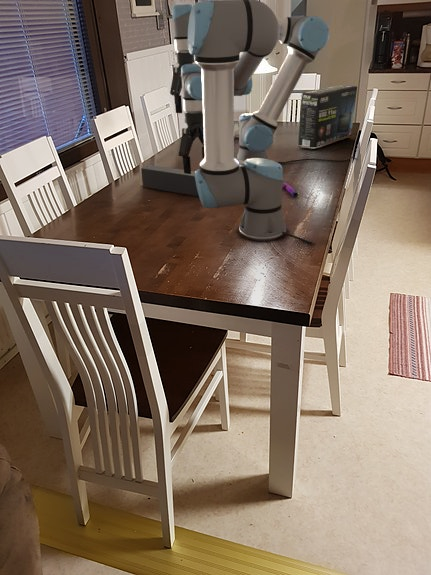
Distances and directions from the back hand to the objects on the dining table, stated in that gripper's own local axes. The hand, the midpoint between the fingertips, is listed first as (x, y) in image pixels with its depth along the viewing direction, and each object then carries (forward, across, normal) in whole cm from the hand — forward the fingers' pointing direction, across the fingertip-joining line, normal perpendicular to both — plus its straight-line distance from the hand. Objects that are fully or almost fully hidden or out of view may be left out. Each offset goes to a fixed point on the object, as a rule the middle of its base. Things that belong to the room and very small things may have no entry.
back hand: (188, 110), depth 187 cm
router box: (+28, -79, +34) cm, 91 cm away
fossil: (+28, -76, -21) cm, 84 cm away
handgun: (+28, -2, +41) cm, 50 cm away
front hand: (+18, +16, +13) cm, 27 cm away
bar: (+28, +16, +2) cm, 33 cm away
